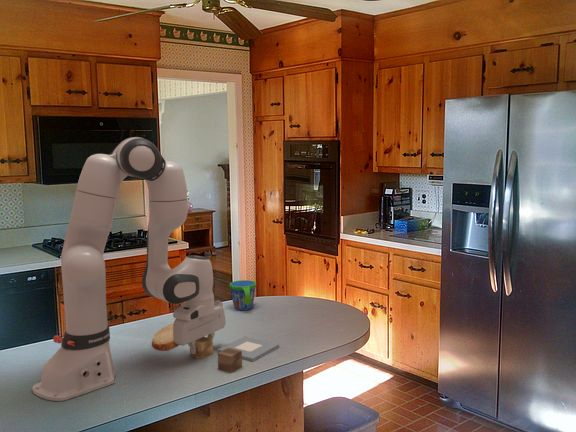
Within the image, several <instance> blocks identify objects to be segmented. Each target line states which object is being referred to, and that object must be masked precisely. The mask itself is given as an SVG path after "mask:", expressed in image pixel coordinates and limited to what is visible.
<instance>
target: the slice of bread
mask: <svg viewBox="0 0 576 432" xmlns="http://www.w3.org/2000/svg"><path fill="white" fill-rule="evenodd" d="M151 346H152V348H153V349H154V350H156V351H159V352H167V351H171V350H173V349H175V348H177V347H178V346H179V345H178V344H176V343H175V342H174V339H173V323H170V324H168V325H166V326H165V327H162V328H161V329H159V330H158V331H157V332H156V333H155V334H154V337H153V338H152V340H151Z"/></svg>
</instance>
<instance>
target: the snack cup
mask: <svg viewBox="0 0 576 432" xmlns="http://www.w3.org/2000/svg"><path fill="white" fill-rule="evenodd" d="M256 287H257V282H255V281H254V280H247V279H243V280H241V279H240V280H234V281H231V282H230V283H229V290H230V292H231V294H230V295H231V298H232V303H233V308H234V309H235V310H237V311H249V310H251V309H252V308H254V304H255V303H254V299H255V292H256Z"/></svg>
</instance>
